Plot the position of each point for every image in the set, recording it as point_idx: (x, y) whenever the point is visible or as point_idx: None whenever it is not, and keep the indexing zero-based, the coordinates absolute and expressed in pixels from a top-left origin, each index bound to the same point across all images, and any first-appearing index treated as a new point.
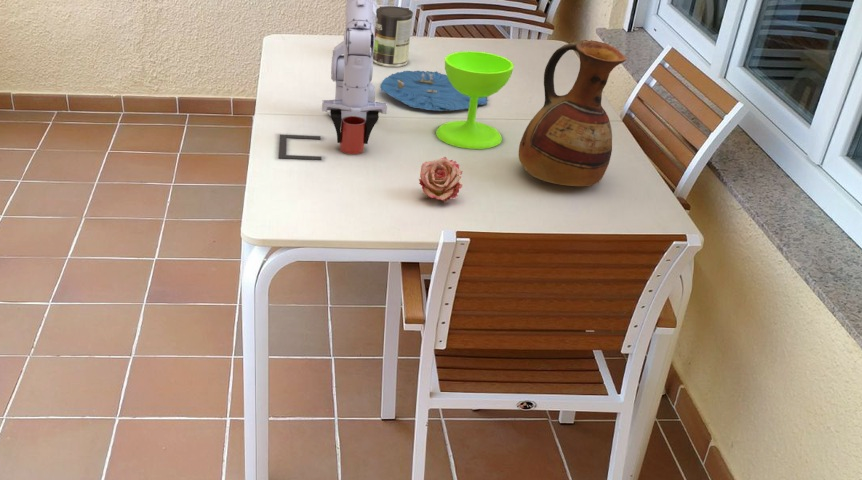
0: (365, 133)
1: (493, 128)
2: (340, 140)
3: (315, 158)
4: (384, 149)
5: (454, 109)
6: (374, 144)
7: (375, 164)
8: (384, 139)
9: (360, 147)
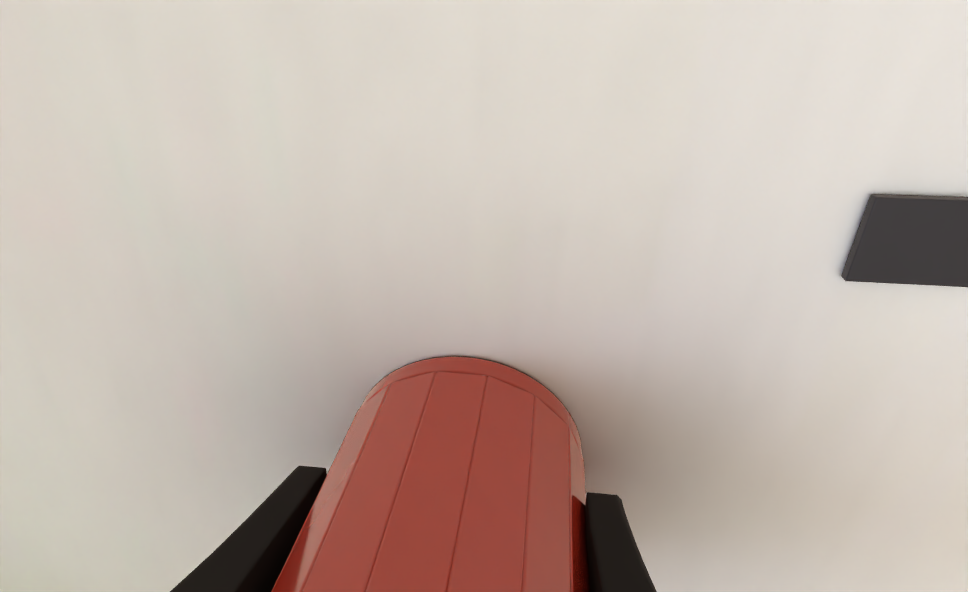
0: None
1: None
2: (591, 514)
3: (955, 219)
4: (191, 448)
5: None
6: None
7: (193, 118)
8: None
9: (368, 417)
